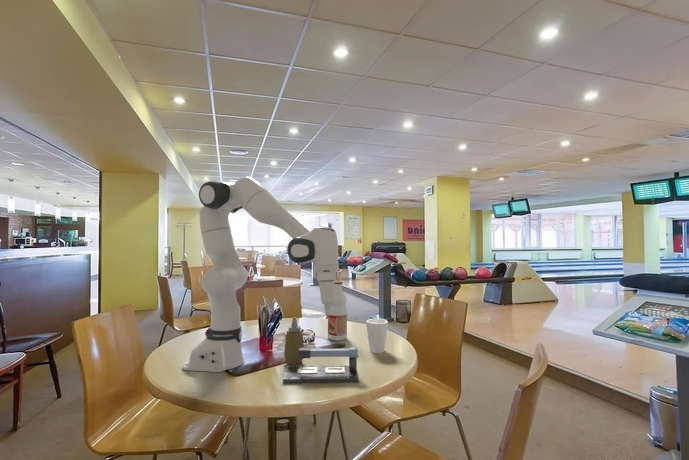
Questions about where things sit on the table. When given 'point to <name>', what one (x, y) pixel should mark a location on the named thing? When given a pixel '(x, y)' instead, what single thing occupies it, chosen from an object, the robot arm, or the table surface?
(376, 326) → the foam cup
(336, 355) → the swing arm
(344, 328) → the fruit juice
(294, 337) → the squeeze bottle
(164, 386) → the table surface
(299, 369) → the switch panel
